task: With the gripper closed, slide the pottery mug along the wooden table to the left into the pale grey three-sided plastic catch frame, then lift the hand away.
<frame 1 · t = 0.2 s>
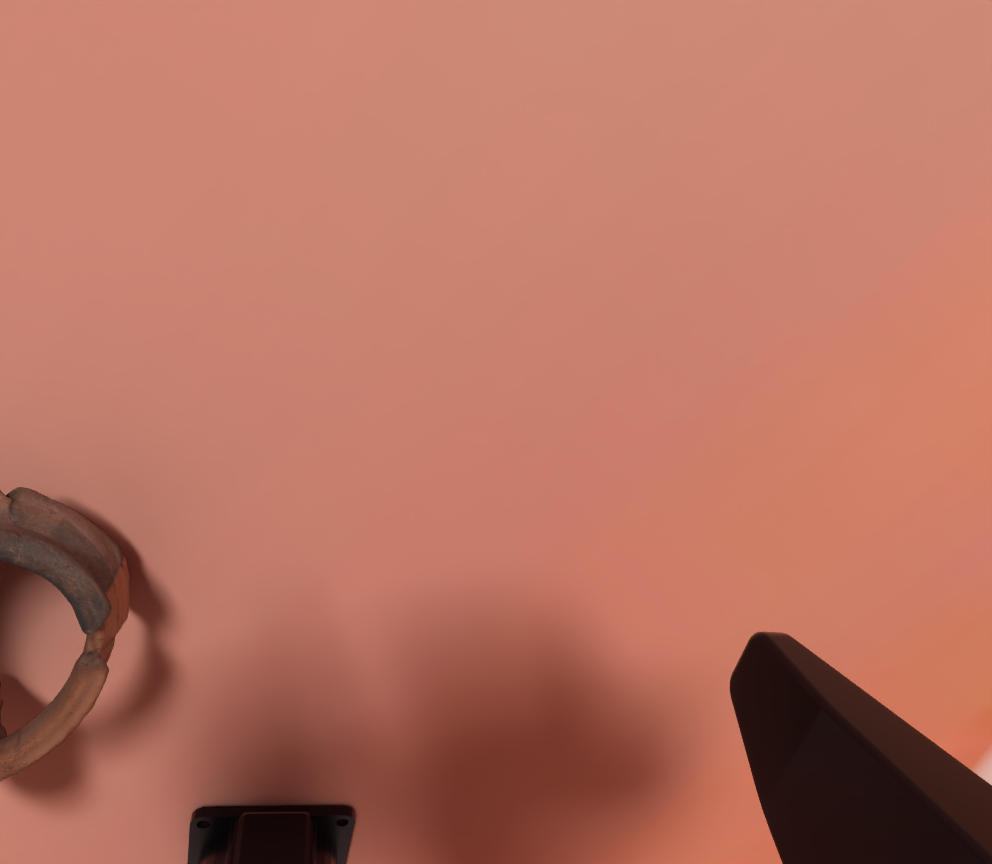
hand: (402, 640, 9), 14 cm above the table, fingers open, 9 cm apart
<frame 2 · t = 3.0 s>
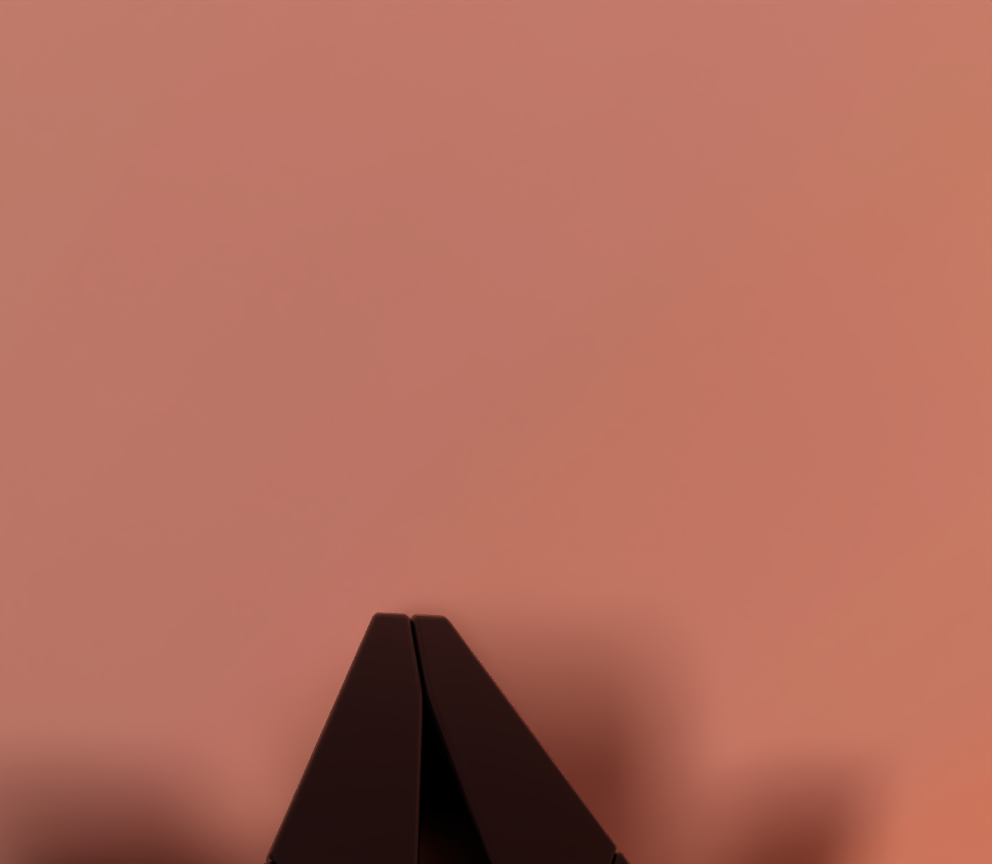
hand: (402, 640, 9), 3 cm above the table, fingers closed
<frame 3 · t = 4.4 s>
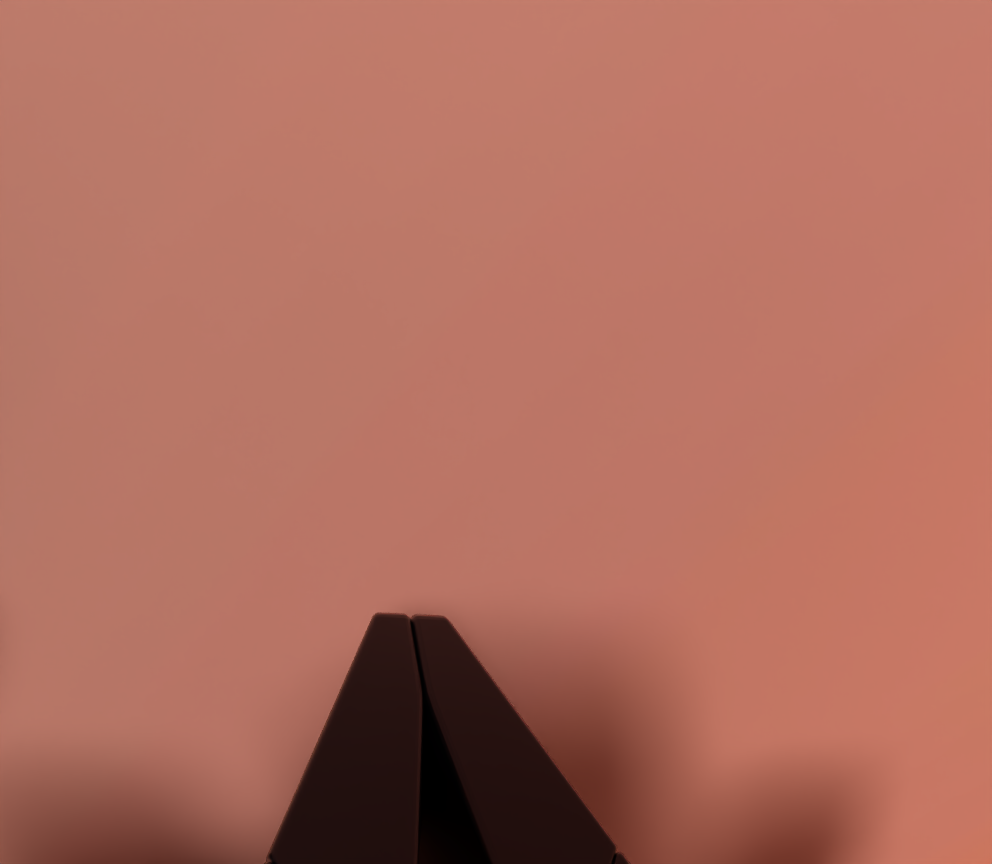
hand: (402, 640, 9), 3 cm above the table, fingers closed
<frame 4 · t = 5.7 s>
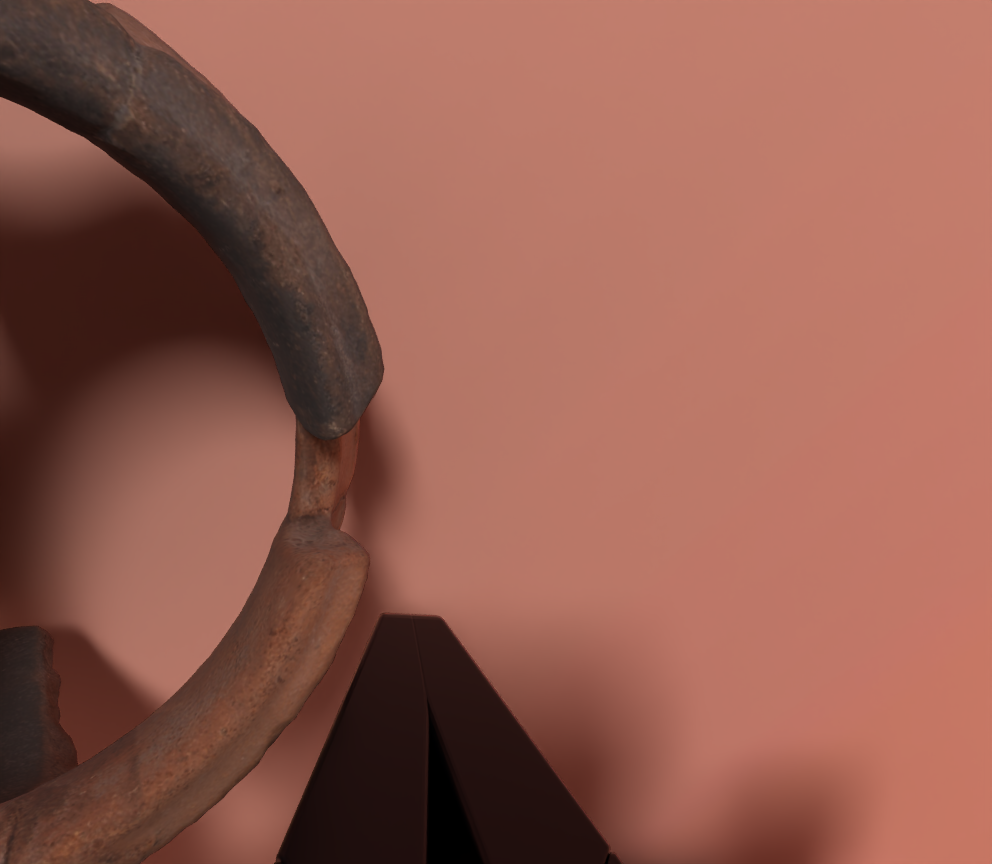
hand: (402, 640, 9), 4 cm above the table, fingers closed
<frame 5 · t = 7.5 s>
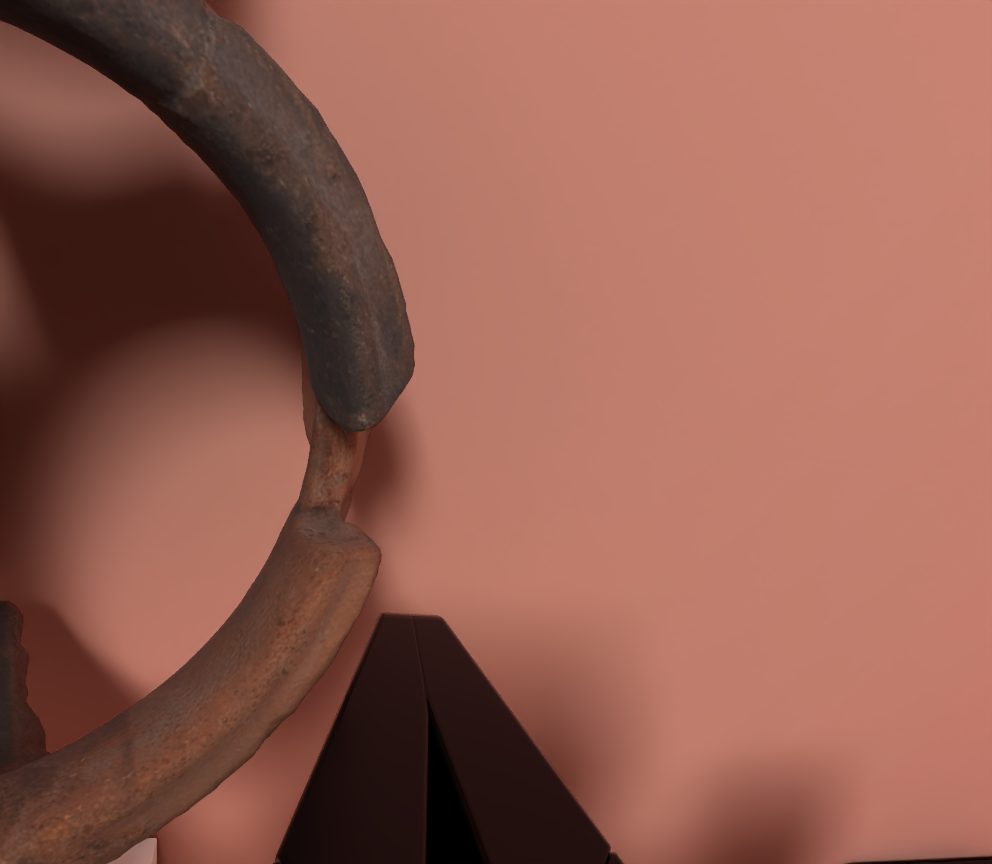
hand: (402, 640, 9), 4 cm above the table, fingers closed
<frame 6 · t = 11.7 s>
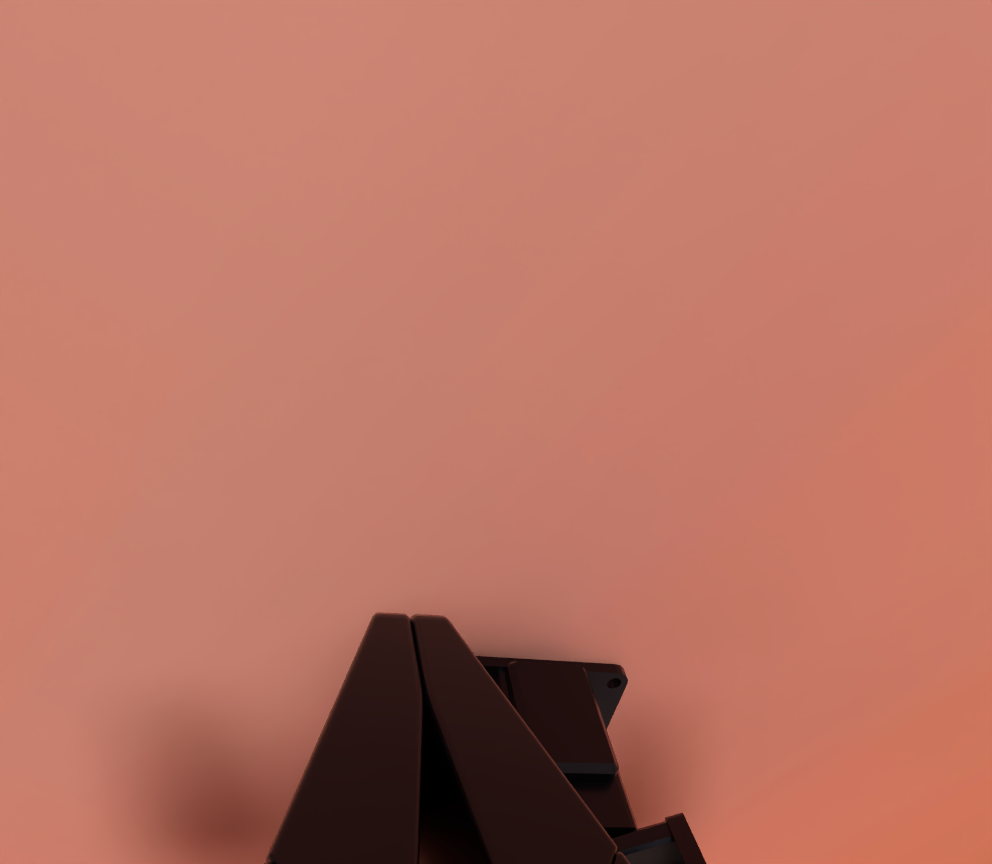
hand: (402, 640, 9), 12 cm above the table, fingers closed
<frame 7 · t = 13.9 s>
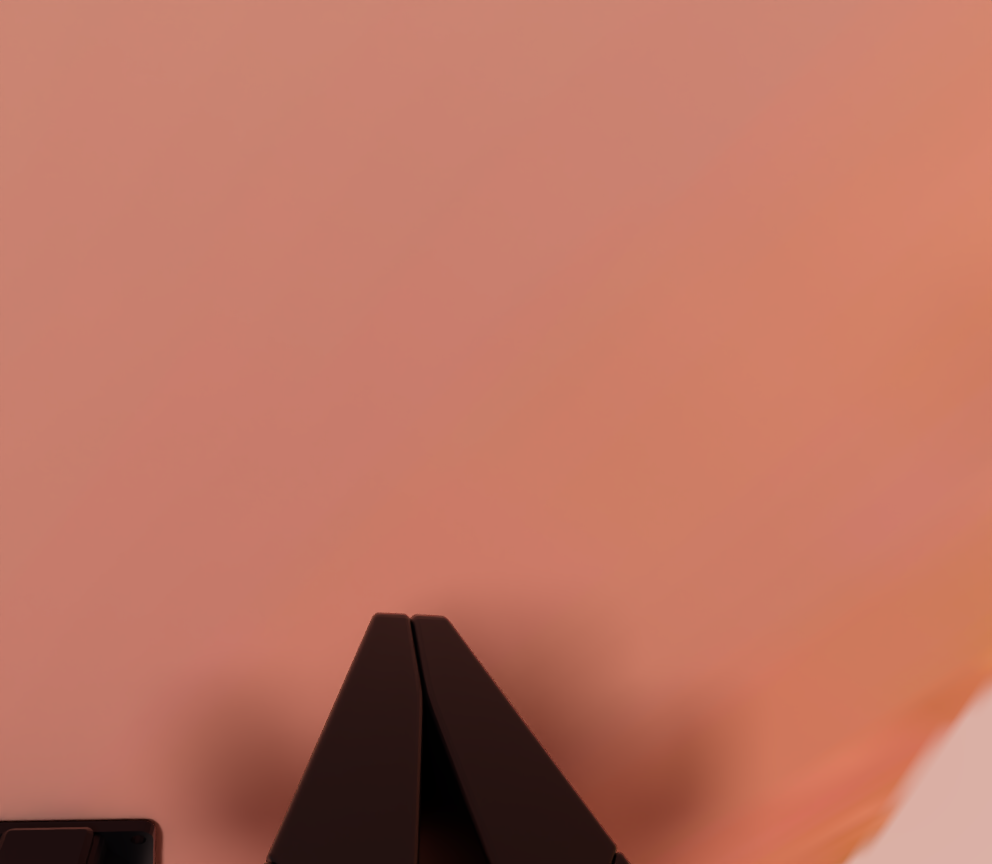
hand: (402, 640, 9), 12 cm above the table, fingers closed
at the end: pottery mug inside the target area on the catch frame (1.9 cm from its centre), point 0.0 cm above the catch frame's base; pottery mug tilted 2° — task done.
